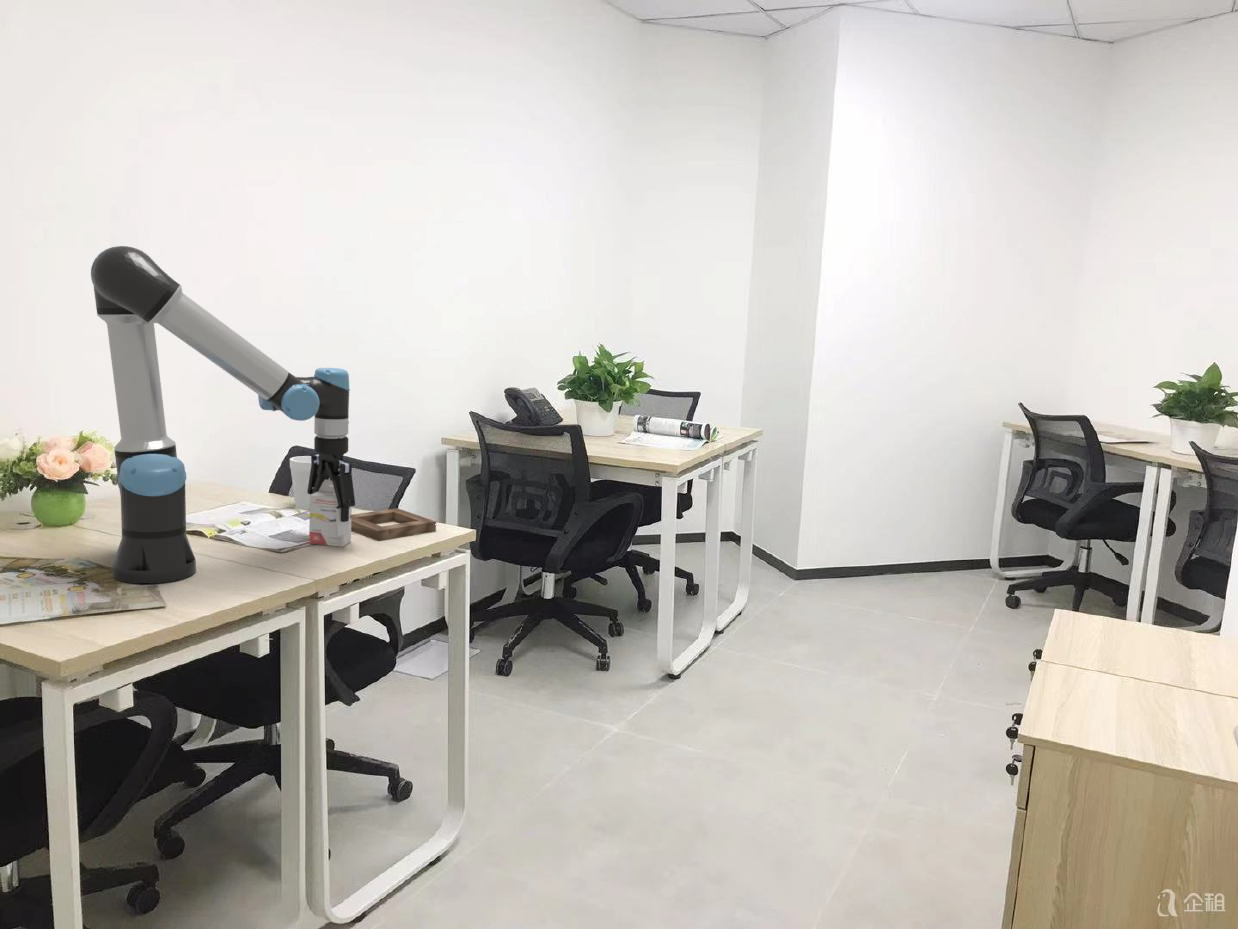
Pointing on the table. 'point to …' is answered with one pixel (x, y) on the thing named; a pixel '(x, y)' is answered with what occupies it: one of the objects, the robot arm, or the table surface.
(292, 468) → the foam cup
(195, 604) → the table surface
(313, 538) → the ink cartridge box
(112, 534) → the table surface
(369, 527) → the square wooden frame
